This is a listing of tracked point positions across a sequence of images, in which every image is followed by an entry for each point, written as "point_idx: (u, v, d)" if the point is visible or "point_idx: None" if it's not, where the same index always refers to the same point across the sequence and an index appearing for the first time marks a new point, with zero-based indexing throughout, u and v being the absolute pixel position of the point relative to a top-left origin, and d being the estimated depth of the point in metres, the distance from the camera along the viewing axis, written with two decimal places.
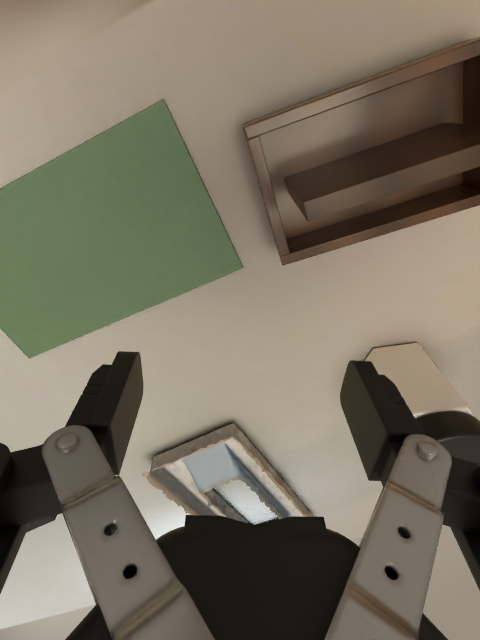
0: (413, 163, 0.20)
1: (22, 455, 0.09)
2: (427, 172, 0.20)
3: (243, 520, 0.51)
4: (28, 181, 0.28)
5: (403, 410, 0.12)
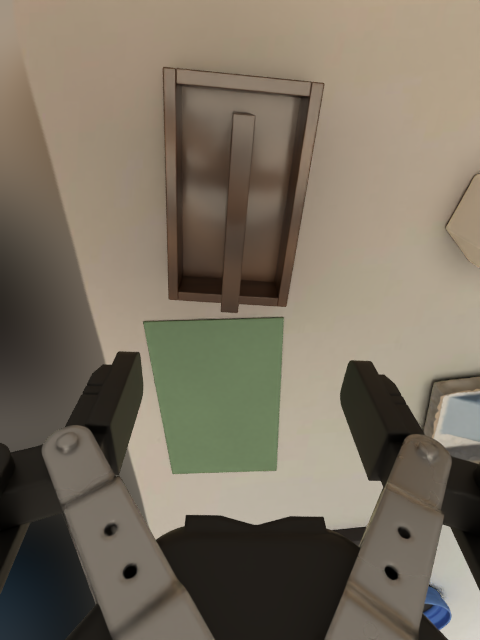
0: (226, 218, 0.22)
1: (23, 455, 0.09)
2: (236, 212, 0.21)
3: None
4: (164, 411, 0.42)
5: (403, 410, 0.12)
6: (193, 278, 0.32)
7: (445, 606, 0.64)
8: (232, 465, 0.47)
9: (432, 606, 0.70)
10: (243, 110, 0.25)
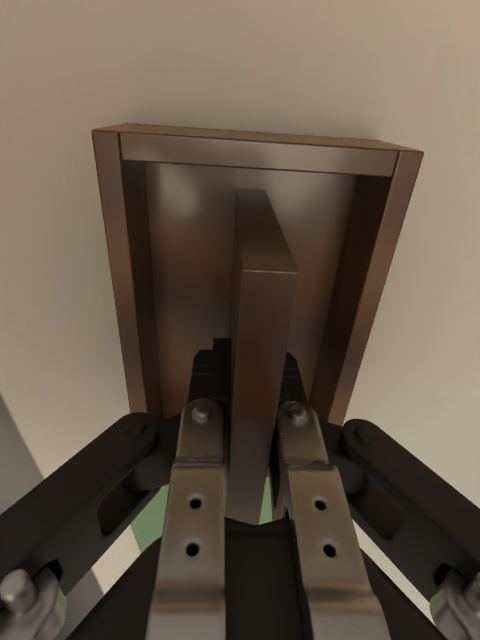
0: (229, 437, 0.11)
1: (160, 425, 0.10)
2: (251, 439, 0.10)
3: None
4: None
5: (296, 383, 0.12)
6: None
7: None
8: None
9: None
10: (255, 186, 0.14)
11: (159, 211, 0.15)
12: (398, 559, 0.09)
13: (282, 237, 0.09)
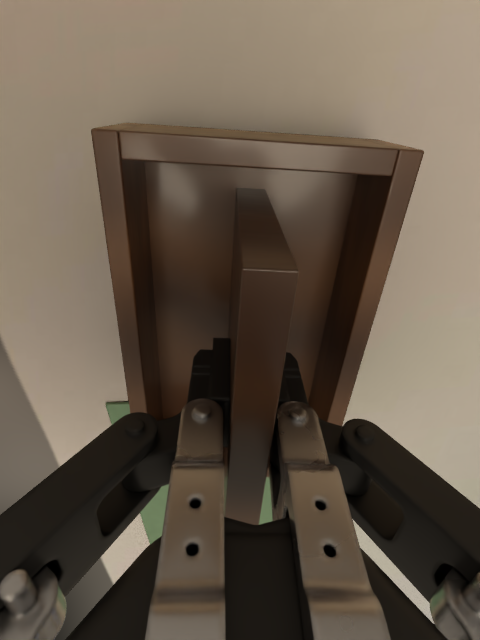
0: (229, 437, 0.11)
1: (160, 425, 0.10)
2: (251, 438, 0.10)
3: None
4: (145, 512, 0.29)
5: (296, 383, 0.12)
6: None
7: None
8: None
9: None
10: (255, 186, 0.14)
11: (159, 210, 0.15)
12: (398, 558, 0.09)
13: (282, 236, 0.09)
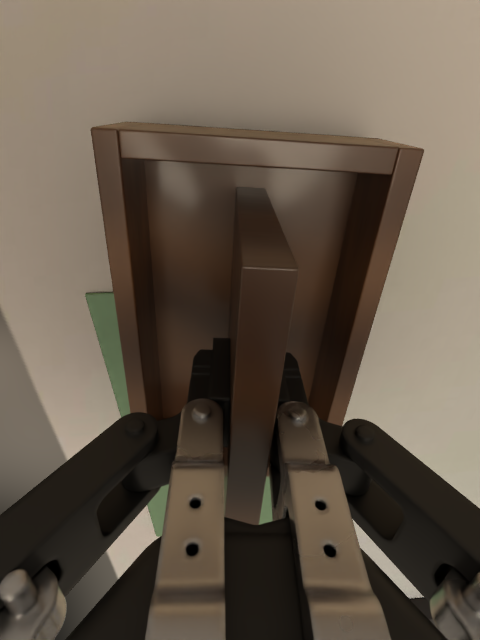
0: (229, 435, 0.10)
1: (160, 425, 0.10)
2: (251, 437, 0.10)
3: None
4: None
5: (296, 383, 0.12)
6: None
7: None
8: None
9: None
10: (255, 185, 0.14)
11: (159, 210, 0.15)
12: (398, 559, 0.09)
13: (282, 235, 0.09)
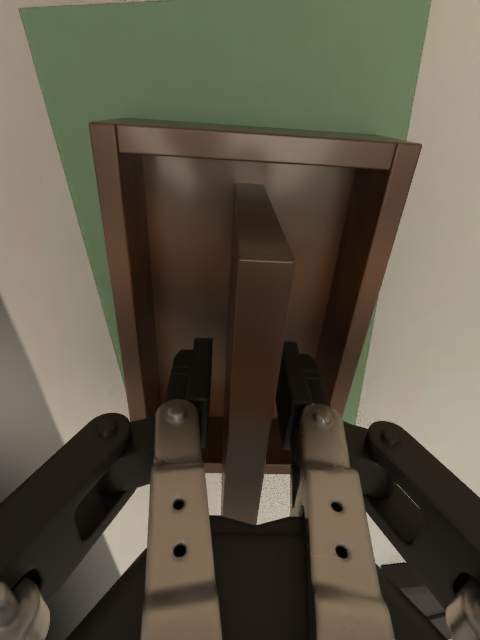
0: None
1: (135, 426, 0.10)
2: (248, 432, 0.10)
3: None
4: (114, 319, 0.18)
5: (317, 385, 0.12)
6: None
7: None
8: None
9: None
10: (254, 181, 0.14)
11: (157, 206, 0.15)
12: (417, 564, 0.09)
13: (279, 229, 0.09)
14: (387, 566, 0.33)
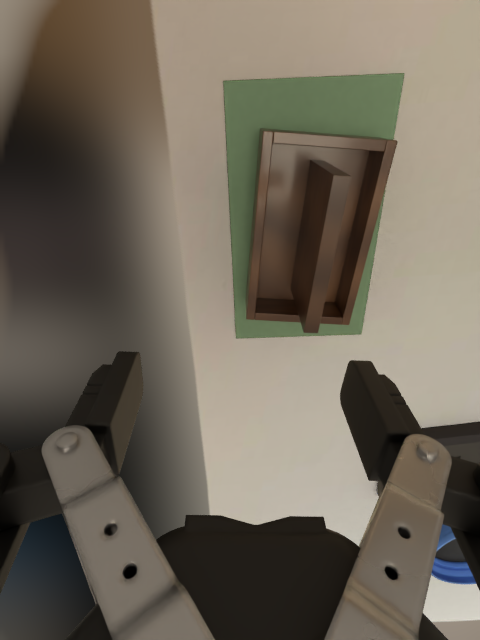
0: (316, 255, 0.26)
1: (23, 455, 0.09)
2: (327, 251, 0.25)
3: None
4: (236, 235, 0.34)
5: (403, 410, 0.12)
6: (264, 299, 0.36)
7: None
8: None
9: None
10: (319, 159, 0.30)
11: (271, 170, 0.30)
12: None
13: (341, 171, 0.25)
14: None
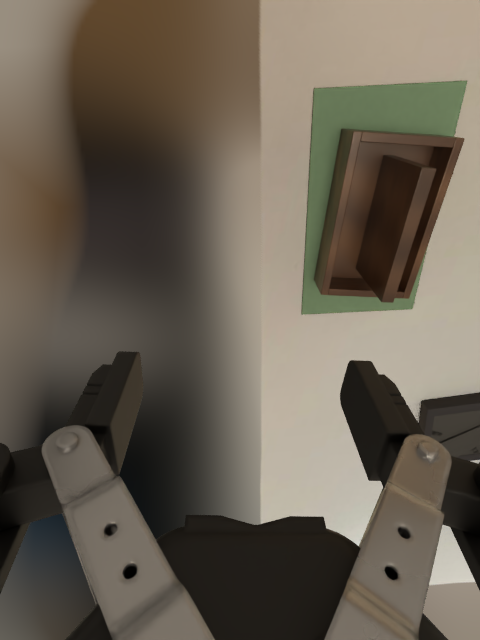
0: (398, 235, 0.31)
1: (23, 455, 0.09)
2: (409, 231, 0.30)
3: None
4: (311, 222, 0.39)
5: (403, 410, 0.12)
6: (332, 278, 0.41)
7: None
8: (367, 302, 0.44)
9: None
10: (391, 154, 0.35)
11: None
12: None
13: (422, 164, 0.30)
14: (425, 400, 0.53)
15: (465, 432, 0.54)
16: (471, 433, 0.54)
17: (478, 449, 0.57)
